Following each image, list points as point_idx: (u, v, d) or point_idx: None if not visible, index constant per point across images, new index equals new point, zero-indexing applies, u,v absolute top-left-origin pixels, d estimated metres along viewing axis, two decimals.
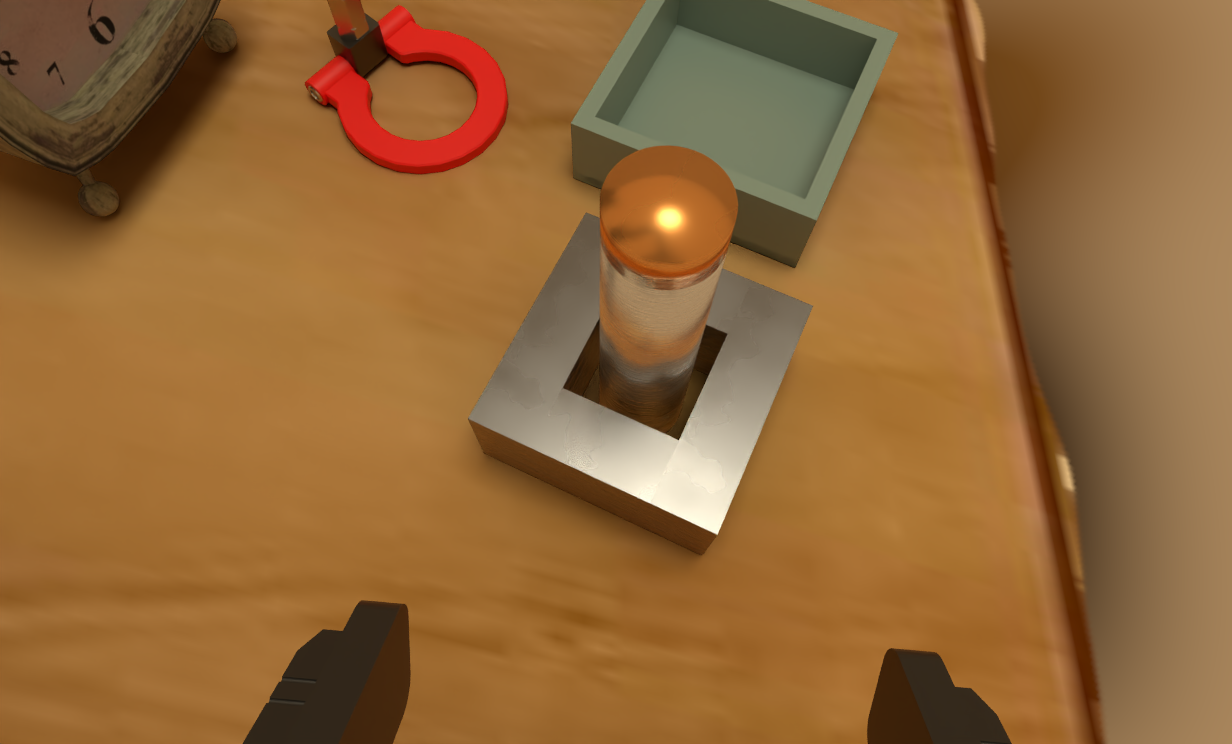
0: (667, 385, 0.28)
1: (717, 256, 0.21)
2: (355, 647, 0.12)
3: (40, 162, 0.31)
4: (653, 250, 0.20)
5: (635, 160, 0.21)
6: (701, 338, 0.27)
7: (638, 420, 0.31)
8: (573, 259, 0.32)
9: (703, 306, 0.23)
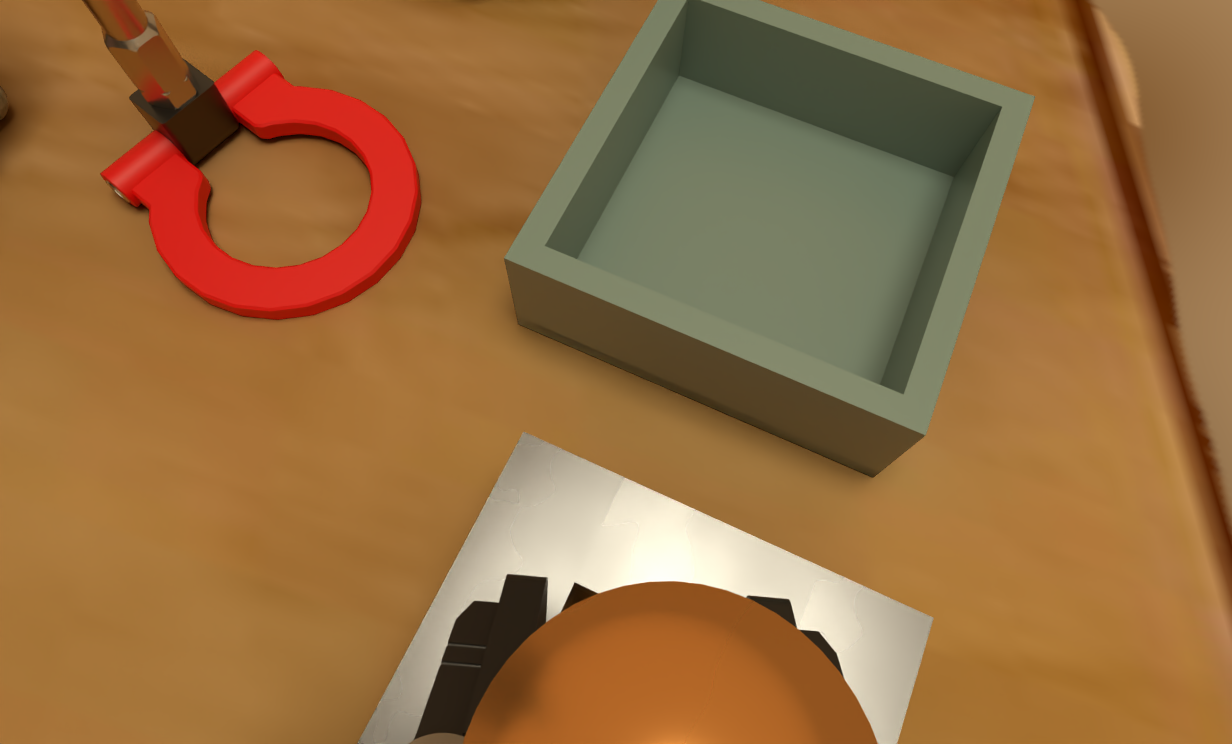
0: None
1: None
2: (514, 615, 0.12)
3: None
4: None
5: (567, 640, 0.07)
6: None
7: None
8: (498, 526, 0.18)
9: None
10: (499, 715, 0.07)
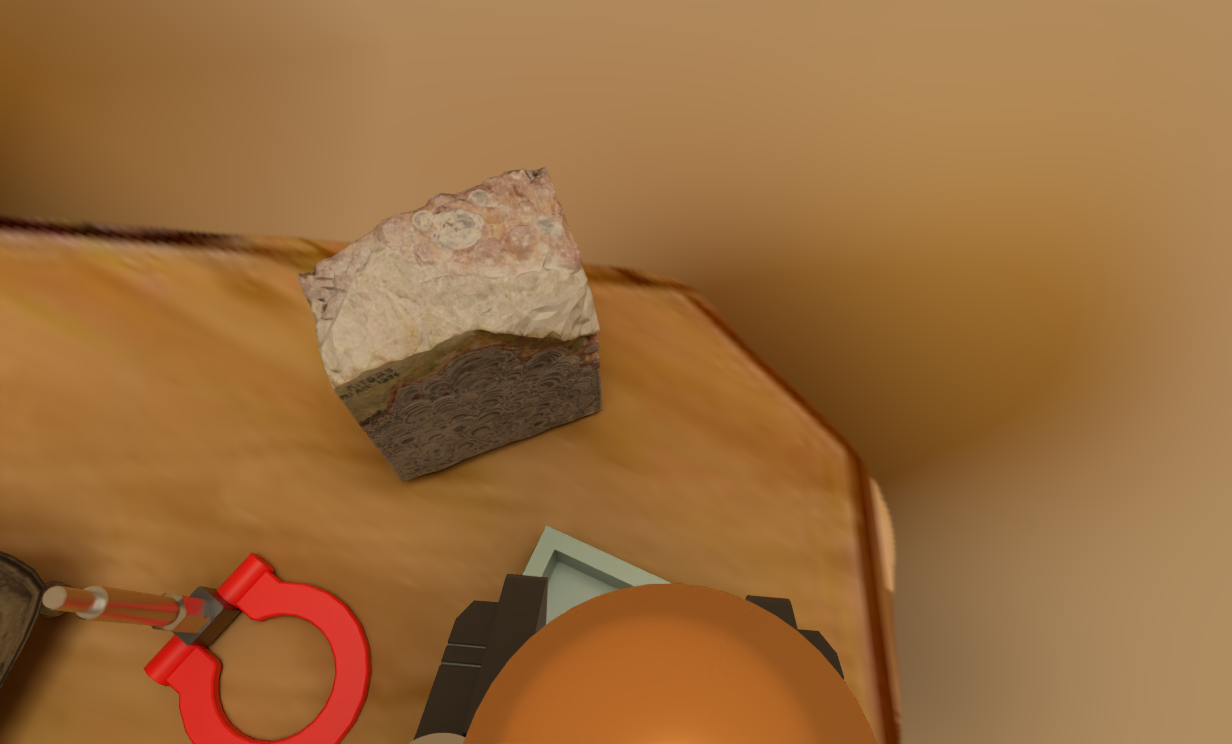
0: None
1: None
2: (514, 615, 0.12)
3: None
4: None
5: (567, 642, 0.07)
6: None
7: None
8: None
9: None
10: (499, 717, 0.07)
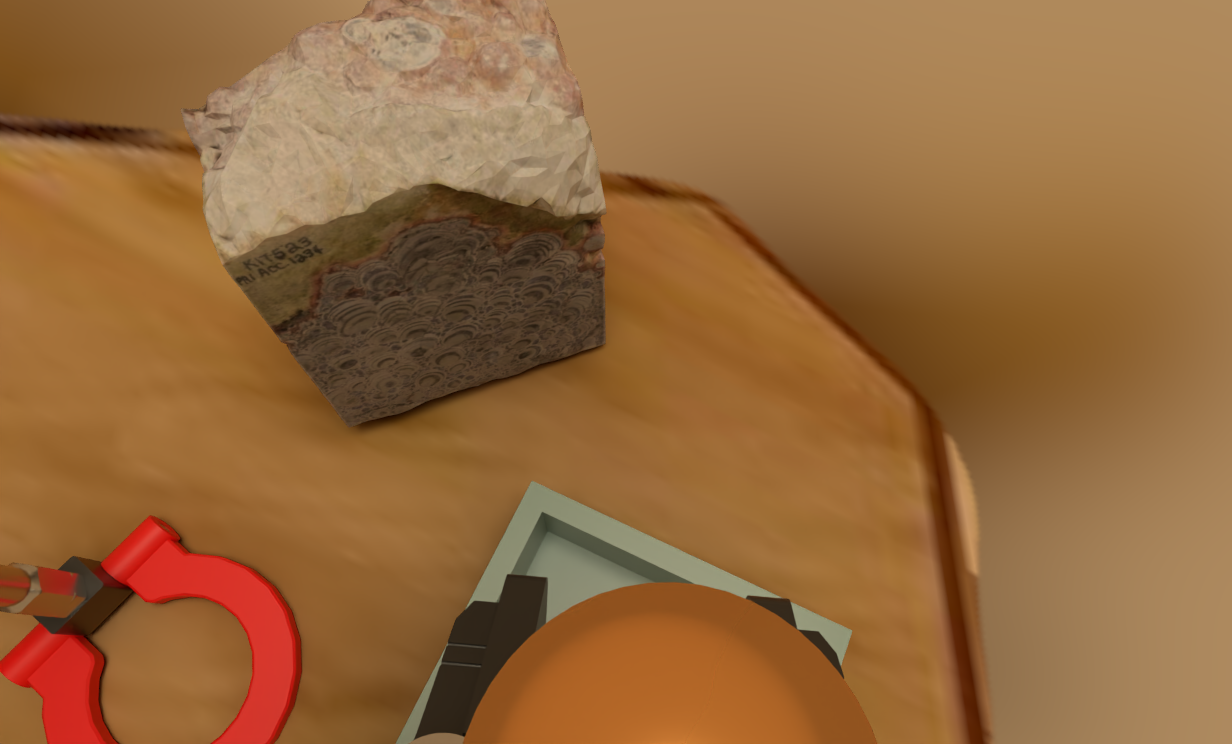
0: None
1: None
2: (514, 615, 0.12)
3: None
4: None
5: (566, 642, 0.07)
6: None
7: None
8: None
9: None
10: (498, 716, 0.07)
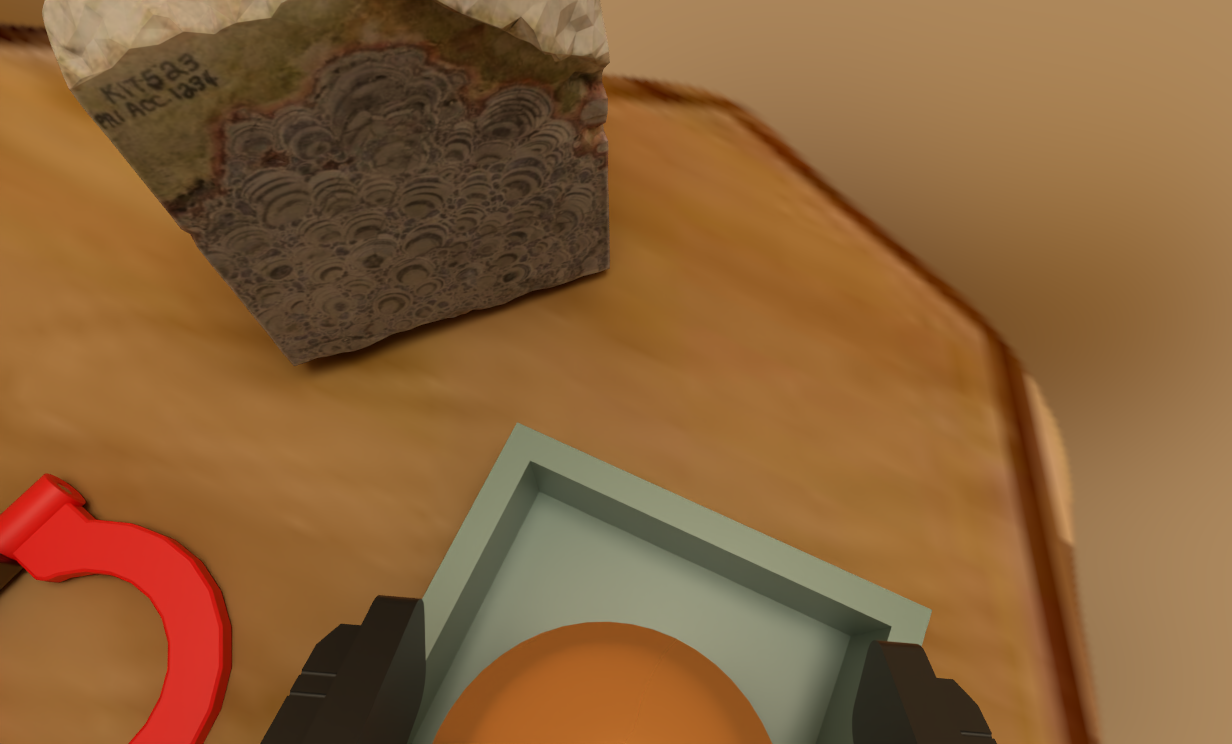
0: None
1: None
2: (374, 641, 0.12)
3: None
4: None
5: (514, 673, 0.08)
6: None
7: None
8: None
9: None
10: (456, 738, 0.08)
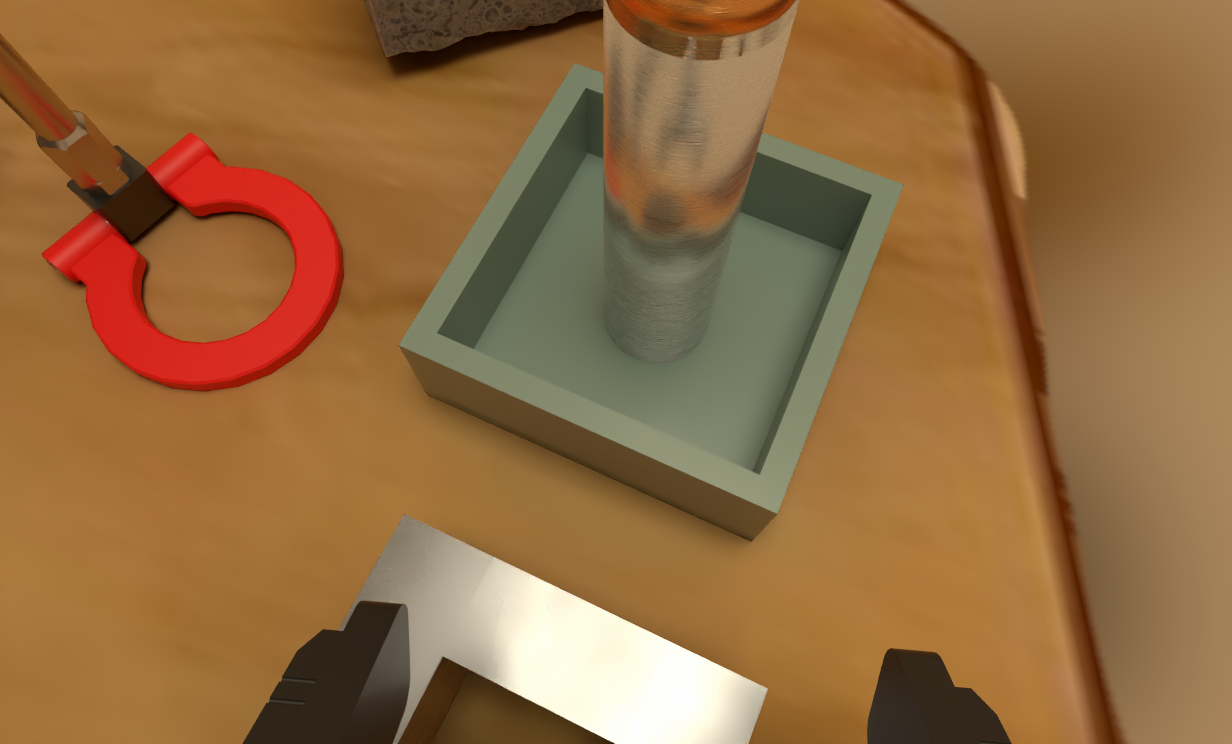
0: (696, 265, 0.21)
1: None
2: (355, 647, 0.12)
3: None
4: None
5: None
6: (744, 192, 0.19)
7: (655, 328, 0.24)
8: None
9: (756, 112, 0.16)
10: None
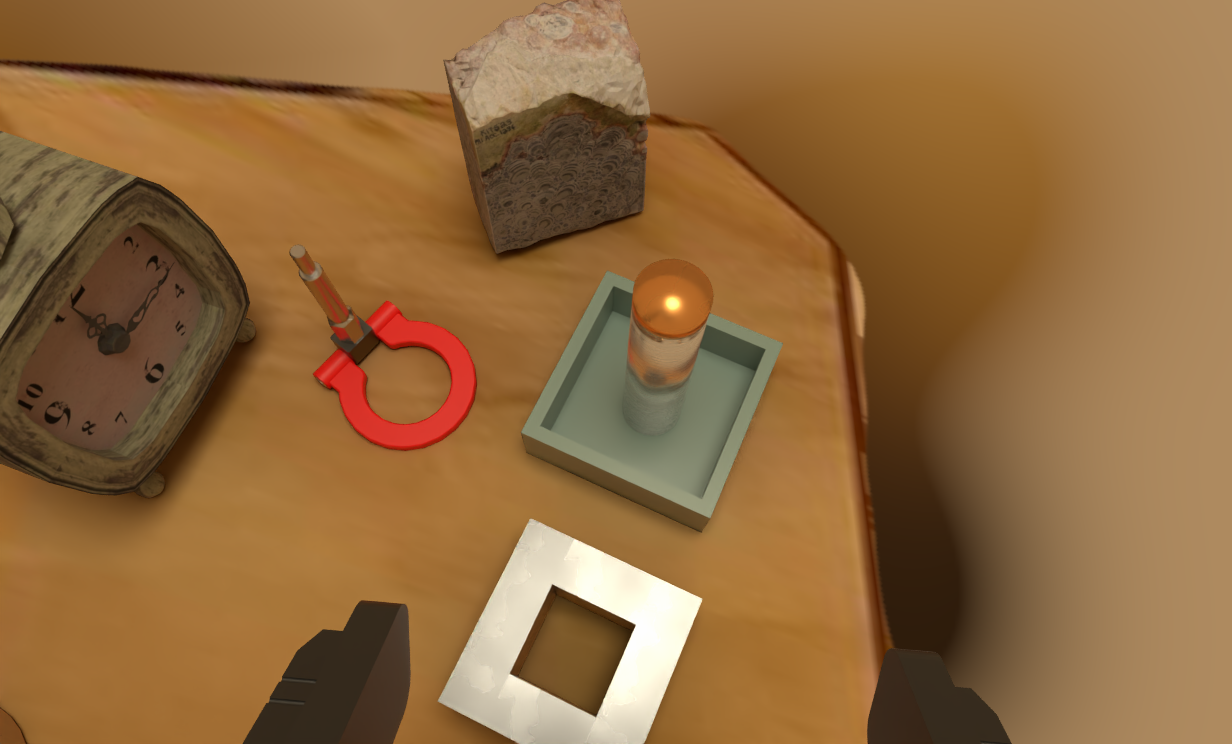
0: (671, 398, 0.43)
1: (701, 325, 0.35)
2: (355, 647, 0.12)
3: (111, 494, 0.41)
4: (664, 323, 0.35)
5: (652, 268, 0.36)
6: None
7: (651, 421, 0.46)
8: (519, 560, 0.41)
9: (693, 351, 0.38)
10: (640, 280, 0.35)
